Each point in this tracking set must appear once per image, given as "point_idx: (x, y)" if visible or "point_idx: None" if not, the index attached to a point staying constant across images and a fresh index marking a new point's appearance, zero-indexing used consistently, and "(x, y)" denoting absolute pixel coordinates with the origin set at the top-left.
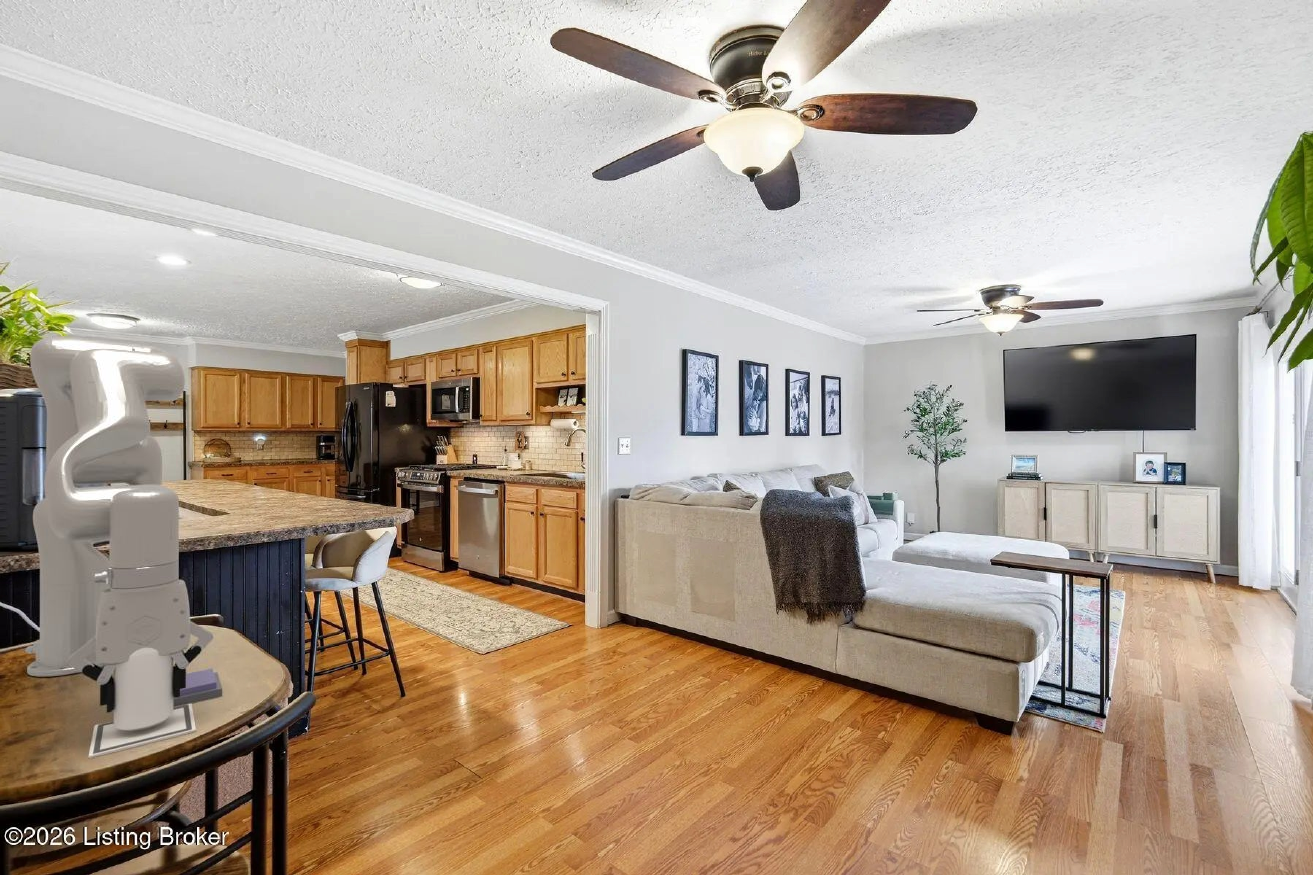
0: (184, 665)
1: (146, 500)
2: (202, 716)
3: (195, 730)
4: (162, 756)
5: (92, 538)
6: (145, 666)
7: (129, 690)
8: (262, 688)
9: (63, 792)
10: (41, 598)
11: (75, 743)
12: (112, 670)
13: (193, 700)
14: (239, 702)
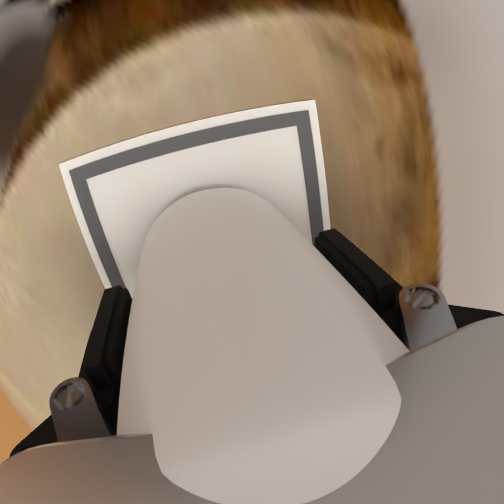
0: (69, 393)
1: None
2: (81, 276)
3: (60, 164)
4: (116, 16)
5: None
6: (235, 334)
7: (286, 243)
8: (23, 383)
9: None
10: None
11: (357, 226)
12: (414, 339)
13: None
14: (29, 329)
